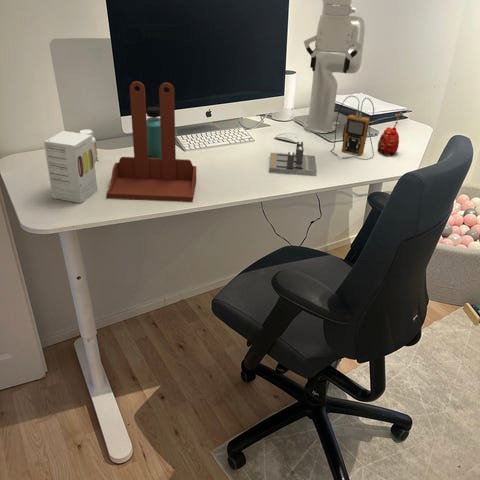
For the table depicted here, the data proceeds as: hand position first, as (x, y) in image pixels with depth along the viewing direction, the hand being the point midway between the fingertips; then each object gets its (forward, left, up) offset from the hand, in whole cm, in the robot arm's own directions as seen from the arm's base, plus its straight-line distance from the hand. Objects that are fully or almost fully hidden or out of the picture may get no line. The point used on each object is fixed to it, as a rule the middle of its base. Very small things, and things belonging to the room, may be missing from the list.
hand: (329, 71), depth 160 cm
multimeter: (-6, +12, -30) cm, 33 cm away
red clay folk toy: (-12, +26, -30) cm, 41 cm away
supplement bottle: (+13, -74, -30) cm, 81 cm away
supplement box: (+37, -70, -30) cm, 85 cm away
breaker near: (+11, -9, -28) cm, 32 cm away
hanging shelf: (+31, -49, -30) cm, 66 cm away
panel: (+6, -8, -30) cm, 32 cm away
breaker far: (+1, -6, -28) cm, 29 cm away
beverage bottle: (+17, -51, -30) cm, 62 cm away
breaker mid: (+6, -6, -28) cm, 30 cm away
